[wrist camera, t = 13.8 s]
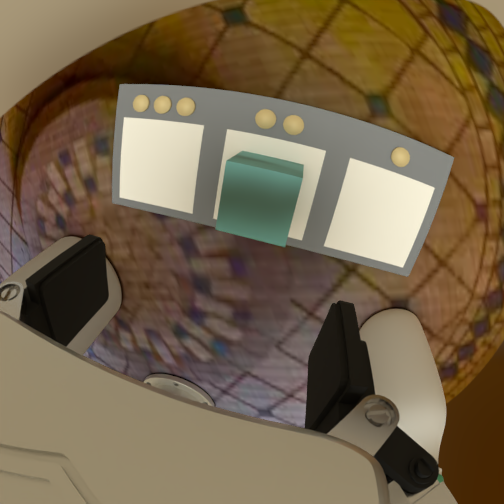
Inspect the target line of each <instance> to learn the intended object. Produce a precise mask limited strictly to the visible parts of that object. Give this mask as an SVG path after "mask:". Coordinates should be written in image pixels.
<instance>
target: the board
mask: <svg viewBox="0 0 504 504" xmlns="http://www.w3.org/2000/svg"><path fill="white" fill-rule="evenodd" d="M241 151H247V152H251V153H256V154H261V155H265V156H270V157H274V158H278V159H283V160H287V161H291V162H295V163H299V164H303V165H304V169H303V180H302V184H301V188H300V192H299V196H298V200H297V203H296V207H295V211H294V215H293V219H292V223H291V226H290V230H289V234H288V238H287V241H286V245H289V246H293V247H297V248H301V249H305V250H308V251H312V252H316V253H320V254H324V255H328V256H332V257H335V258H339V259H343V260H347V261H351V262H355V263H358V264H362V265H366V266H370V267H373V268H377V269H381V270H385V271H388V272H392V273H396V274H399V275H403V276H407V277H408V276H409V274H410V272H411V270H412V267H413V265H414V263H415V261H416V259H417V257H418V254H419V252H420V250H421V248H422V245H423V243H424V241H425V238H426V236H427V234H428V231H429V229H430V226H431V224H432V221H433V219H434V216H435V213H436V211H437V208H438V205H439V203H440V200H441V197H442V194H443V191H444V188H445V185H446V182H447V179H448V176H449V173H450V170H451V166H452V163H453V160H454V157H452V156H450V155H448V154H446V153H443V152H441V151H439V150H437V149H435V148H432V147H430V146H428V145H426V144H423V143H421V142H418V141H416V140H414V139H411V138H409V137H406V136H403V135H401V134H398V133H396V132H393V131H390V130H387V129H385V128H382V127H379V126H376V125H373V124H370V123H367V122H364V121H361V120H358V119H355V118H351V117H348V116H345V115H341V114H338V113H334V112H331V111H327V110H323V109H320V108H316V107H312V106H308V105H303V104H299V103H295V102H290V101H285V100H281V99H276V98H270V97H265V96H259V95H254V94H248V93H241V92H234V91H227V90H219V89H210V88H200V87H189V86H175V85H153V84H120V87H119V95H118V103H117V112H116V122H115V133H114V148H113V170H112V203H114V204H119V205H123V206H128V207H132V208H136V209H141V210H145V211H149V212H153V213H158V214H162V215H166V216H170V217H175V218H179V219H183V220H187V221H191V222H196V223H200V224H204V225H208V226H212V227H216V223H217V216H218V209H219V203H220V196H221V190H222V184H223V178H224V172H225V166H226V161H227V160H228V159H230V158H231V157H233V156H235V155H236V154H238V153H240V152H241Z"/></svg>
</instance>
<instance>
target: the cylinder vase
mask: <svg viewBox="0 0 504 504" xmlns="http://www.w3.org/2000/svg"><path fill="white" fill-rule="evenodd" d="M81 239H82V238H78V237H73V236H69V237H64V238H61V239H60V240H58V241H57V242H55V243H54V244H52V245H51V246H50V247H48V248H47V249H45V250H44V251H43V252H41V253H40V254H38V255H37V256H36V257H34V258H33V259H32V260H30V261H29V262H28V263H26V264H25V265H24V266H22V267H21V268H20V269H18V270H17V271H16V272H15V273H13V274H12V275H11V276H10V277H8V278H7V279H6V280H5V281H3V282H2V283H1V284H0V285H2V284H4V283H6V282H11V281H16V282H19V283H21V284H22V285H23V287H24V289H25V288H26V287H27V285H26V282H25V280H26V279H27V278H29V277H30V276H31V275H32V274H34V273H35V272H36V271H38V270H39V269H40V268H42V267H43V266H44V265H46V264H47V263H48V262H50V261H51V260H53V259H54V258H55V257H57V256H58V255H60V254H61V253H62V252H64V251H65V250H67V249H68V248H70V247H71V246H72V245H74V244H75V243H77V242H78V241H80V240H81ZM106 268H107V280H108V290H109V298H108V300H107V302H106V303H105V304H104V305H103V306H102V307H101V309H100V310H99V311H98V312H97V313H96V314H95V315H94V316H93V317H92V318H91V319H90V321H89V322H88V323H87V324H86V325H85V326H84V327H83V328H82V329H81V331H80V332H79V333H78V334H77V335H76V336H75V337H74V339H73V340H72V341H71V342H70V343H69V344H68V345H67V348H69V349H71V350H73V351H75V352H77V353H79V354H81V355H83V354H84V353H85V352H86V350H87V349H88V348H89V347H90V345H91V344H92V343H93V341H94V340H95V339H96V338H97V336H98V335H99V334H100V333H101V331H102V330H103V329H104V328H105V326H106V325H107V324H108V323H109V321H110V320H111V319H112V318H113V317H114V315H115V314H116V313H117V311H118V310H119V308H120V305H121V300H122V293H121V286H120V283H119V280H118V277H117V275H116V272H115V271H114V269H113V267H112V265H111V264H110V262H109V261H108V260H107V258H106Z"/></svg>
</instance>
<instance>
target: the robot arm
mask: <svg viewBox="0 0 504 504" xmlns="http://www.w3.org/2000/svg"><path fill="white" fill-rule="evenodd" d="M25 282H26V285H27V287H26V288H25V289H24V287H23V285H22V284H21V283H19V282H16V281H11V282H6V283H4V284H2V285H0V504H457V502H456V500H455V499H454V497H453V496H452V494H451V493H450V491H449V490H448V488H447V487H446V485H445V484H444V482H443V481H442V482H441V483H439V481H438V480H437V478H438V475H439V467H438V464H437V461H436V460H435V458H434V457H433V456H432V455H431V454H429V453H428V452H427V451H426V450H425V449H424V448H422V447H421V446H420V445H419V444H418V443H417V442H415V441H414V440H413V439H412V438H411V437H410V436H408V435H407V434H406V433H405V432H404V431H403V430H402V429H400V428H399V427H398V426H397V425H398V422H399V417H400V415H399V411H398V408H397V407H396V405H395V404H394V403H393V402H392V401H391V400H390V399H388V398H386V397H385V396H381V395H376V394H375V388H374V381H373V375H372V369H371V364H370V358H369V353H368V348H367V344H366V342H365V341H363V340H361V338H360V333H359V327H358V322H357V317H356V312H355V307H354V304H353V303H348V302H344V301H338V302H337V304H335V303H333V304H332V305H331V307H330V310H329V312H328V315H327V317H326V319H325V321H324V324H323V326H322V328H321V331H320V333H319V335H318V337H317V339H316V342H315V344H314V346H313V348H312V350H311V353H310V355H309V360H308V383H307V402H306V418H305V428H301V427H296V426H292V425H287V424H282V423H278V422H273V421H268V420H264V419H260V418H255V417H251V416H247V415H243V414H240V413H236V412H232V411H228V410H224V409H221V408H217V407H215V405H214V403H213V401H212V399H211V398H210V397H209V395H208V394H206V393H205V392H204V391H203V390H202V389H200V388H199V387H197V386H196V385H194V384H192V383H190V382H188V381H186V380H184V379H181V378H179V377H176V376H172V375H167V374H152V375H149V376H147V377H146V378H145V380H144V382H141V381H138V380H136V379H133V378H131V377H129V376H126V375H124V374H121V373H119V372H117V371H115V370H112V369H110V368H108V367H106V366H104V365H101V364H99V363H97V362H95V361H93V360H91V359H89V358H87V357H85V356H83V355H81V354H79V353H77V352H75V351H73V350H71V349H69V348H67V345H68V344H69V343H70V342H71V341H72V340H73V339H74V337H75V336H76V335H77V334H78V333H79V332H80V331H81V329H82V328H83V327H84V326H85V325H86V324H87V323H88V322H89V321H90V319H91V318H92V317H93V316H94V315H95V314H96V313H97V312H98V311H99V310H100V309H101V307H102V306H103V305H104V304H105V303H106V302H107V300H108V298H109V290H108V280H107V268H106V254H105V244H104V242H103V241H102V239H101V238H100V237H97V236H93V235H87V236H86V237H84V238H83V239H81V240H80V241H78V242H77V243H75V244H74V245H72V246H71V247H70V248H68V249H67V250H65V251H64V252H62V253H61V254H60V255H58V256H57V257H55V258H54V259H53V260H51V261H50V262H48V263H47V264H46V265H44V266H43V267H42V268H40V269H39V270H38V271H36V272H35V273H34V274H32V275H31V276H30V277H29V278H27V279H26V280H25Z"/></svg>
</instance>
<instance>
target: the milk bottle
mask: <svg viewBox="0 0 504 504" xmlns="http://www.w3.org/2000/svg"><path fill="white" fill-rule="evenodd" d="M359 333H360V338H361V340H363V341H365V342H366V344H367V348H368V353H369V358H370V364H371V369H372V375H373V381H374V388H375V394H376V395H381V396H385V397H386V398H388V399H390V400H391V401H392V402H393V403H394V404H395V405H396V407H397V408H398V411H399V415H400V417H399V422H398V425H397V426H398V427H399V428H400V429H402V430H403V431H404V432H405V433H406V434H407V435H408V436H410V437H411V438H412V439H413V440H414V441H415V442H417V443H418V444H419V445H420V446H421V447H422V448H424V449H425V450H426V451H427V452H428V453H429V454H431V455H432V456H433V457H434V458H435V460H436V461H437V464H438V455H439V448H440V443H441V439H442V435H443V431H444V427H445V422H446V403H445V397H444V393H443V389H442V385H441V381H440V378H439V374H438V371H437V368H436V365H435V362H434V359H433V356H432V353H431V350H430V347H429V344H428V342H427V339H426V336H425V334H424V331H423V328H422V326H421V324H420V322H419V320H418V318H417V317H416V316H415V315H414V314H413V313H411V312H409V311H407V310H404V309H388V310H384V311H382V312H379V313H377V314H375V315H374V316H372V317H371V318H370V319H368V320H367V321H366V322H365V323H364V325H363V326H362V328H361V329H360V331H359ZM441 472H442V469H441V468H439V475H438V478H437V480H438V481H439V483H441V482H442V481H443V477H442V474H441Z"/></svg>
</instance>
